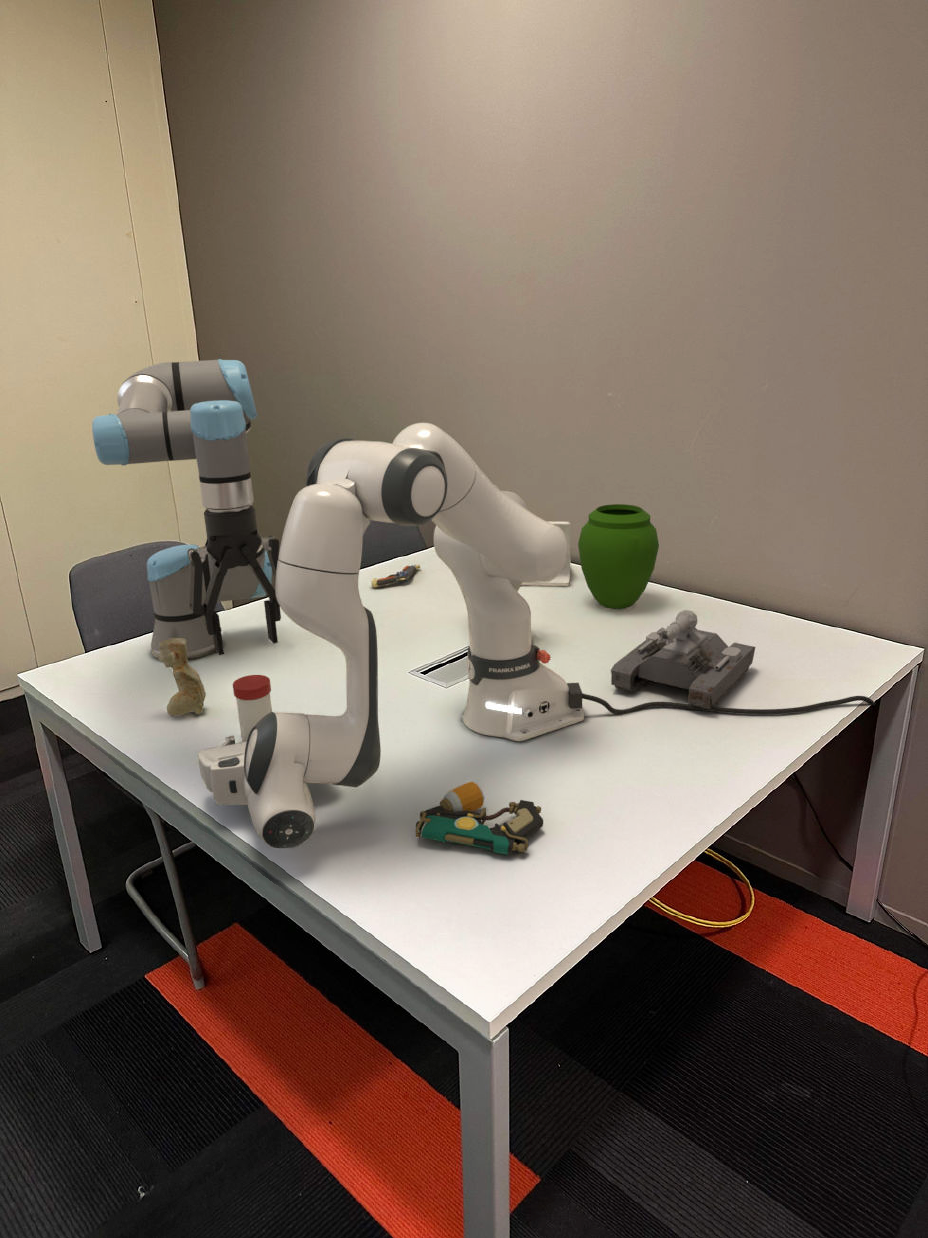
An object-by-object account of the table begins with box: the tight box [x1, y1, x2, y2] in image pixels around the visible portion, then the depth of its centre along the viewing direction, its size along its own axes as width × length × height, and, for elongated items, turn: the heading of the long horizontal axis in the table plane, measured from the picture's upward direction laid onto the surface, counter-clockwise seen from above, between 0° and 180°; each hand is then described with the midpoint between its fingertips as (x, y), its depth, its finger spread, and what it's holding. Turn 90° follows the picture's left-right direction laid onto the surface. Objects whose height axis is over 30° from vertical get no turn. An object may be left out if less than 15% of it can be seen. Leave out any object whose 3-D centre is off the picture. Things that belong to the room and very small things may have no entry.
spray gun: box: [415, 781, 544, 856], centre depth 124 cm, size 4×17×15 cm
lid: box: [232, 674, 272, 700], centre depth 139 cm, size 6×6×2 cm
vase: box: [577, 503, 660, 610], centre depth 210 cm, size 20×20×24 cm
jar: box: [235, 692, 273, 743], centre depth 142 cm, size 5×5×15 cm
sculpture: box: [158, 638, 207, 717], centre depth 162 cm, size 6×7×15 cm
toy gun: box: [370, 564, 421, 588], centre depth 239 cm, size 3×19×10 cm
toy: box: [610, 609, 756, 710], centre depth 169 cm, size 25×20×15 cm
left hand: (246, 646), depth 137 cm, fingers open, 8 cm apart
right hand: (259, 734), depth 141 cm, fingers open, 8 cm apart
